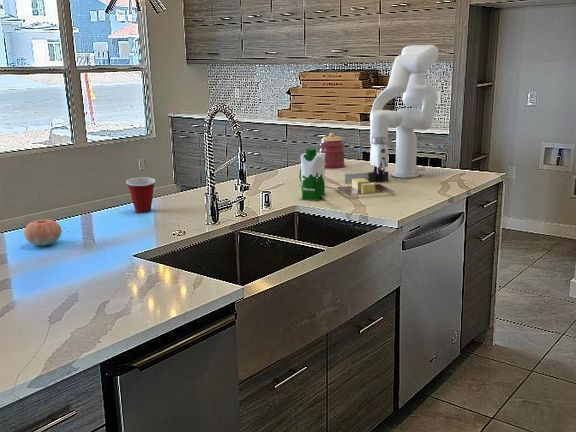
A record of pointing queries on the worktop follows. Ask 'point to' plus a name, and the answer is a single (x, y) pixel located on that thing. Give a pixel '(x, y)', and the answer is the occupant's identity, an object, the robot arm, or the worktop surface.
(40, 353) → the worktop surface
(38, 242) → the pumpkin
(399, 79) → the robot arm
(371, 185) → the butter slice
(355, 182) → the butter
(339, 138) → the kitchen canister
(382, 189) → the cutting board
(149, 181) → the plastic cup
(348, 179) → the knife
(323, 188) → the milk carton
